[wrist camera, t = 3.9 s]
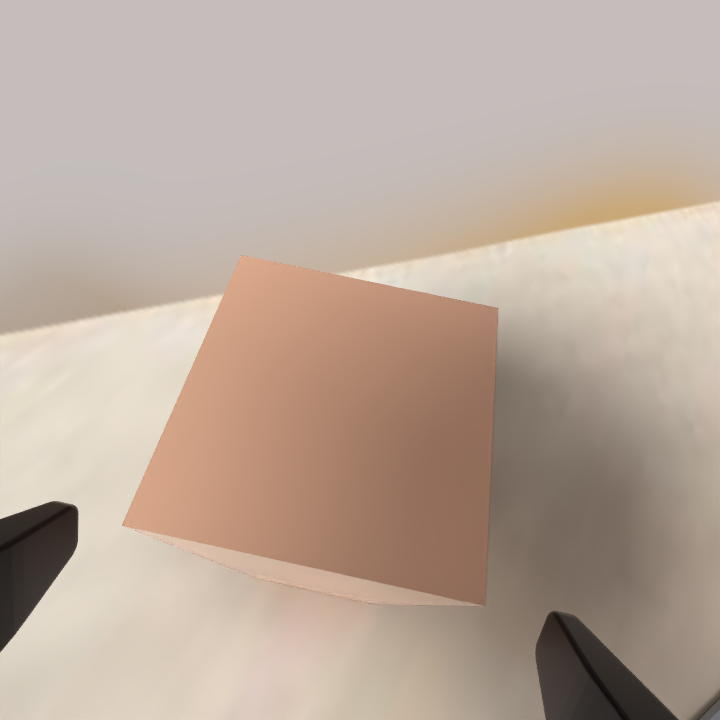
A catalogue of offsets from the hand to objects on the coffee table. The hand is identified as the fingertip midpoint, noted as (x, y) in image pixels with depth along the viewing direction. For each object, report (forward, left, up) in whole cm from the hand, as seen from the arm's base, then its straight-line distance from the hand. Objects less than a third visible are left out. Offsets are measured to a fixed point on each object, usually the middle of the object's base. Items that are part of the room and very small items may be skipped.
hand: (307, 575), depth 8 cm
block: (+1, +2, -10) cm, 10 cm away
